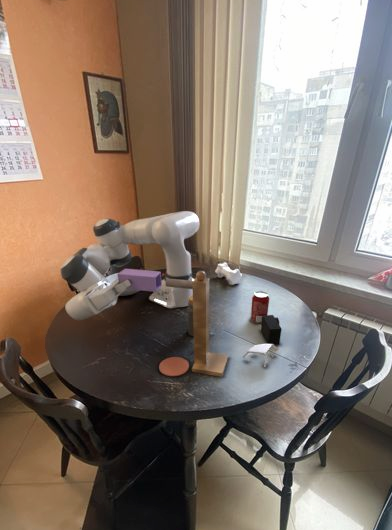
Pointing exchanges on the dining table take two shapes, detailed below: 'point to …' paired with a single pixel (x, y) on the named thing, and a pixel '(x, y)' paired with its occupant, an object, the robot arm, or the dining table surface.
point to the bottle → (190, 316)
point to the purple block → (141, 279)
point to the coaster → (174, 366)
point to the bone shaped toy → (228, 273)
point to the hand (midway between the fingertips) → (134, 278)
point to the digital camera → (271, 329)
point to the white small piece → (261, 350)
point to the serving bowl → (127, 291)
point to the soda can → (259, 306)
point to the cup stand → (201, 326)
